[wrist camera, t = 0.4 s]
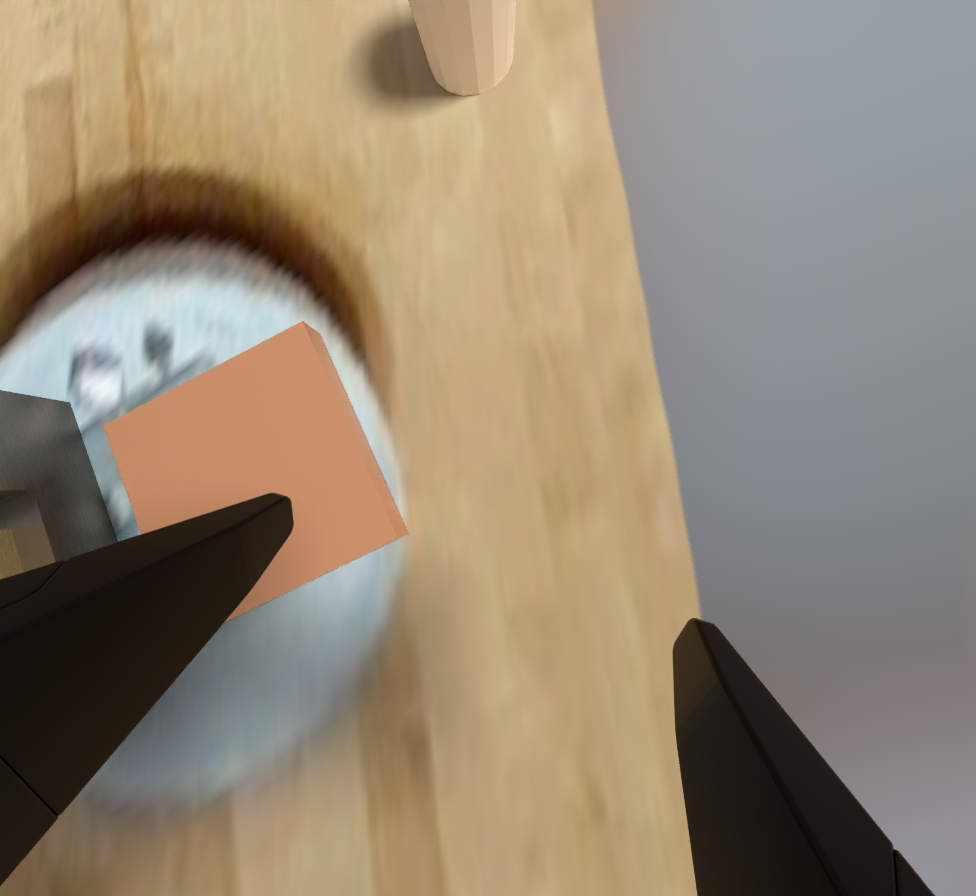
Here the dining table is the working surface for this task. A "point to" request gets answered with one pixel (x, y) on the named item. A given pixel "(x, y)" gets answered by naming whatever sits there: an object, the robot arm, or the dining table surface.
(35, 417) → the body
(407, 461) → the dining table surface
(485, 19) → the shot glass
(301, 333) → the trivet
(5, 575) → the tan wooden block
